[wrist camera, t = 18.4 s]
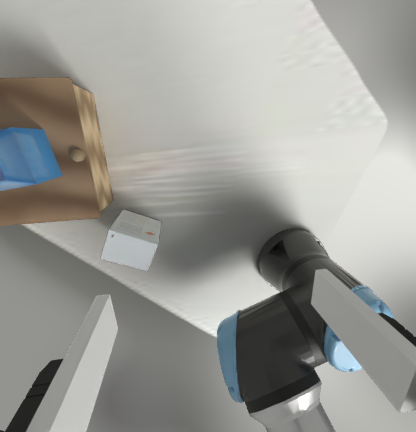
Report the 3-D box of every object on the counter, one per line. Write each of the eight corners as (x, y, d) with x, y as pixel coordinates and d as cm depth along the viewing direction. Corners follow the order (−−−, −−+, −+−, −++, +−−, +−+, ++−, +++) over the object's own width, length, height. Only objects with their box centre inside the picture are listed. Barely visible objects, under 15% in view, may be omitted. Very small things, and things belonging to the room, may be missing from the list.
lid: (101, 215, 35) (97, 219, 33) (2, 223, 33) (-7, 228, 32) (71, 79, 29) (65, 75, 27) (-52, 80, 27) (-67, 76, 25)
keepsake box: (113, 200, 42) (99, 213, 35) (34, 205, 41) (2, 220, 33) (93, 94, 36) (71, 83, 29) (0, 96, 35) (-49, 84, 27)
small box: (115, 232, 45) (97, 259, 35) (123, 208, 43) (107, 228, 33) (153, 244, 47) (147, 273, 37) (162, 221, 45) (158, 244, 35)
